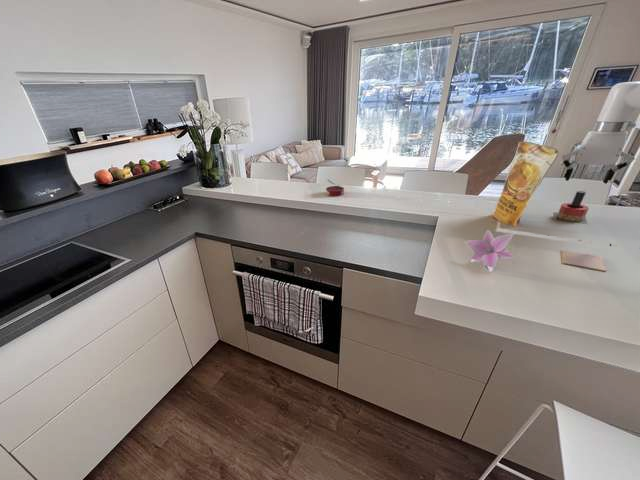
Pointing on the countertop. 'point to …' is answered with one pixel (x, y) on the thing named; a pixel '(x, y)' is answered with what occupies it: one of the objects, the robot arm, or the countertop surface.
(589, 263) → the cork mat
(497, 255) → the lily
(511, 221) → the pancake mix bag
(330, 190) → the red bowl with spoon
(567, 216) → the bottom ring
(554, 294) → the countertop surface
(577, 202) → the post stand
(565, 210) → the top ring
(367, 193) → the countertop surface
